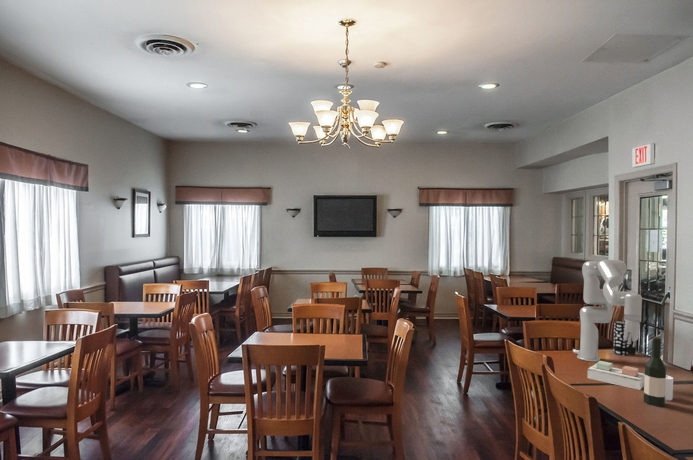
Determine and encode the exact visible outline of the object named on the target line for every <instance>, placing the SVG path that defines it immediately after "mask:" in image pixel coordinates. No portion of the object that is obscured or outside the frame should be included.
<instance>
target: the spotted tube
mask: <svg viewBox="0 0 693 460" xmlns="http://www.w3.org/2000/svg"><path fill="white" fill-rule="evenodd" d="M624 328H625V321H619V320H615V321H614V323H613V340H612V341H613V342H612V343H613V344H612V346H613V349H612V350H613V351H612V354H614V355H616V356H623V357H624V356H625V357H627V356H629V354H628V339H627V340H624Z"/></svg>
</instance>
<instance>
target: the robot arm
mask: <svg viewBox="0 0 693 460" xmlns="http://www.w3.org/2000/svg"><path fill="white" fill-rule="evenodd" d="M627 266H628V265H626V263H625V262H624V261H623V260H619V259H603V260H600V261H599V260H588V261H585V262H584V263H583V264H582V267H581V272H582V273H581V274H582V276H583V294H582V296H583V302H584V303H585V304H587V306H583V307H582V308H580V310H579V319H580V346H579V349H574V348H573V349H572V353H574V354H577V355H576V358H577V359H579V360H581V361H586V362H595V363H597V362H599V361H601V358H600V357H599V356H598V355H599V353H598V352H599V351H598V350H599V329H598V328H599V327H597V325H596V324H597V323H598V324H610V322H611V321H612V318H613V308H614V307H613V306H616V307H617V306H619V307H623V308H624V309H623V310H624V311H623V314H624V315H623V320H624V322H625V328H624V340H627V339H628V355H631V356H635V355H636V351H637V349H636V348H637V347H636V345H637V340H639V337H640V323H642V309H643V308H642V307H643V305H642V304H643V297H642V295H641V294H638V293H635V292H633V291H624V290H622V291H619V290H618V291H617V290H613V289H614V288H616V287H618V286H620V285H621V284H622V283H623V281H624V278H623V276H624V275H625V274H626V273H627V270H628V269H627V268H628V267H627ZM598 276H600V277H602V278H603V280H604V284H603V287H602V288H600V286H601V282H600V280H599V277H598ZM588 305H590V306H588ZM592 305H596V306H592ZM597 305H598V306H597Z"/></svg>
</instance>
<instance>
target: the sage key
mask: <svg viewBox="0 0 693 460" xmlns="http://www.w3.org/2000/svg"><path fill="white" fill-rule="evenodd" d="M596 364H597V365H596V369H601V370H606V371H610V370H611V369H612V367H613V362H608V361H603V360H600V361H597V362H596Z"/></svg>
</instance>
